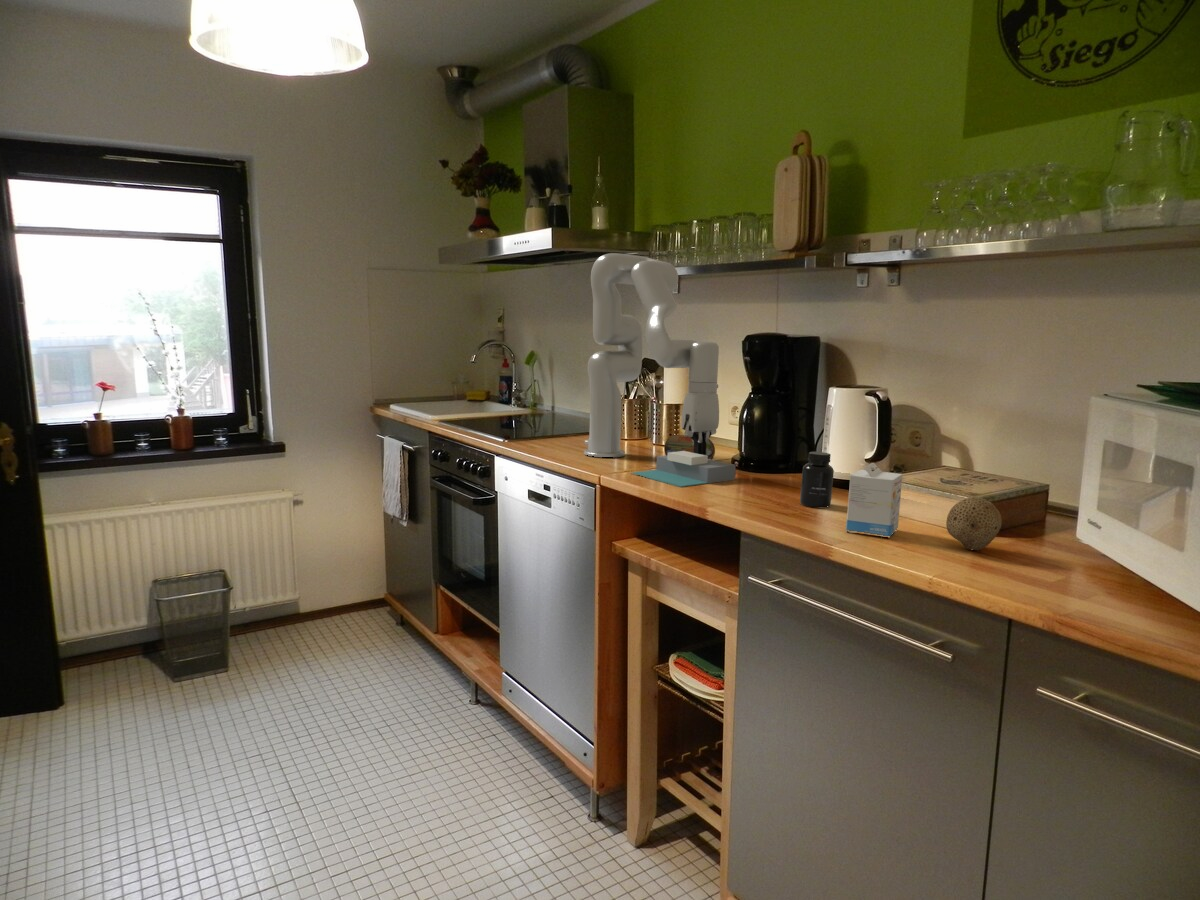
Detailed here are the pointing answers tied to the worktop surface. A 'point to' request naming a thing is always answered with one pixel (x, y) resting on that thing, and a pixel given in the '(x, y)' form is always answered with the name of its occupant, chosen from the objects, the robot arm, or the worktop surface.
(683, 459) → the white rectangular block
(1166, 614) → the worktop surface
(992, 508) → the natural sponge
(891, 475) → the ink box
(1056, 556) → the worktop surface
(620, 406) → the robot arm
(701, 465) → the grey flat block
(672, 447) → the tin
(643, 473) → the mat
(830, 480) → the supplement bottle
